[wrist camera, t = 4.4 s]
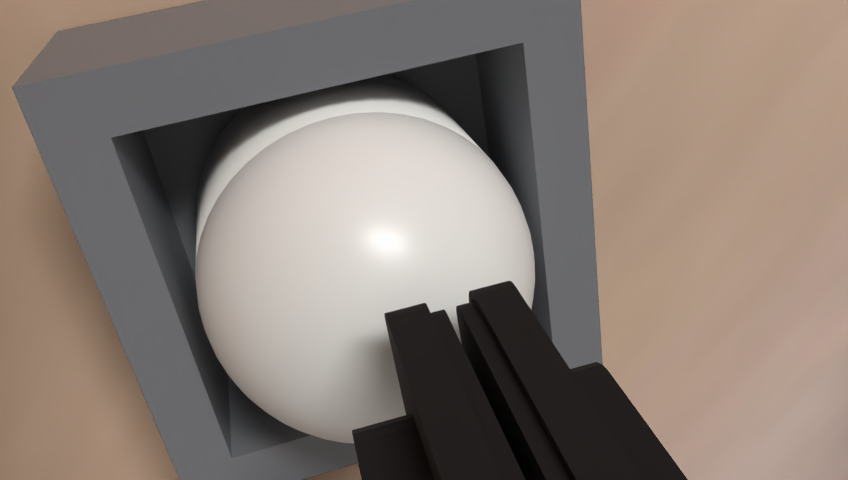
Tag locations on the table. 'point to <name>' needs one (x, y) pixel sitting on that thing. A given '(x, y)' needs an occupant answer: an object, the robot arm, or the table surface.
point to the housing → (270, 80)
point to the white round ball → (344, 244)
